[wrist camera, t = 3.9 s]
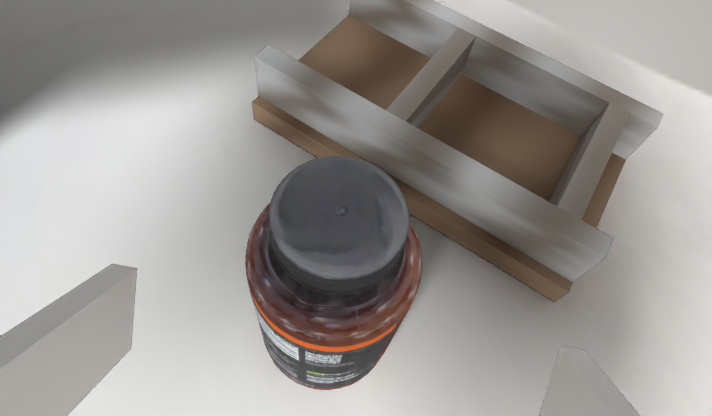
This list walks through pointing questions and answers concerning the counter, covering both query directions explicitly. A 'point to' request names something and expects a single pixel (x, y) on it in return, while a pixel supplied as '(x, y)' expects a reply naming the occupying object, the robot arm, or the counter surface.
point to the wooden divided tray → (464, 131)
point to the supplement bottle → (332, 270)
